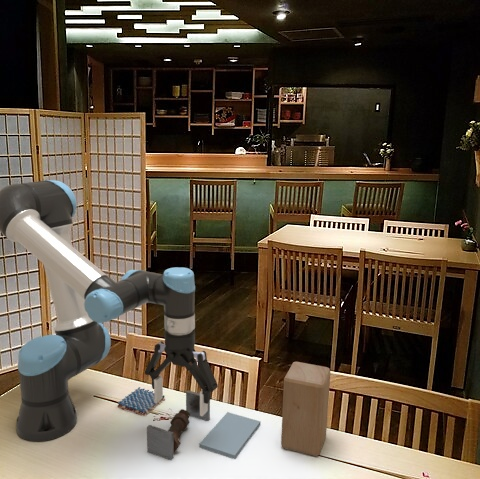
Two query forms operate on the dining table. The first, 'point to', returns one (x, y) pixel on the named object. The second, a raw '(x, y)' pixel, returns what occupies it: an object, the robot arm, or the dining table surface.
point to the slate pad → (230, 435)
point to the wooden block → (305, 408)
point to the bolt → (179, 426)
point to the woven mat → (139, 402)
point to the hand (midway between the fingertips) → (180, 406)
